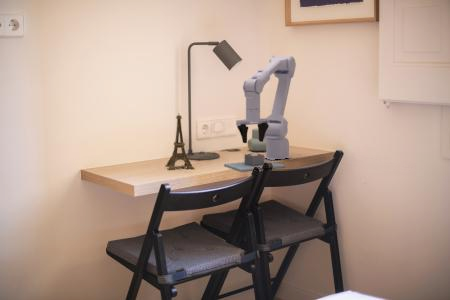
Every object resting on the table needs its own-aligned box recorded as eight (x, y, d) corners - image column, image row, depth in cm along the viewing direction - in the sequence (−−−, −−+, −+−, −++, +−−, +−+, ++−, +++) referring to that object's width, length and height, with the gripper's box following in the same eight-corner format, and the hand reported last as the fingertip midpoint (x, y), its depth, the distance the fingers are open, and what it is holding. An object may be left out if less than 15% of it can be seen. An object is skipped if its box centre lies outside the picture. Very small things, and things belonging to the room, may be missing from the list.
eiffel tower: (167, 170, 263) (166, 106, 259) (165, 165, 273) (164, 104, 270) (194, 169, 265) (194, 106, 261) (190, 164, 276) (190, 103, 272)
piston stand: (266, 161, 281) (266, 149, 280) (284, 167, 269) (285, 154, 268) (224, 166, 272) (224, 153, 271) (241, 171, 260) (241, 158, 259)
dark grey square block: (255, 162, 274) (255, 153, 274) (264, 164, 270) (264, 155, 269) (244, 164, 271) (244, 154, 271) (252, 166, 267) (252, 156, 266)
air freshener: (246, 149, 315) (246, 128, 313) (263, 148, 316) (263, 127, 315) (253, 153, 304) (253, 131, 302) (270, 152, 306) (270, 130, 304)
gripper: (263, 107, 278) (263, 139, 280) (232, 108, 271) (232, 142, 273) (272, 108, 271) (272, 141, 274) (241, 110, 265) (241, 144, 267)
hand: (252, 142), depth 273 cm, fingers open, 7 cm apart
